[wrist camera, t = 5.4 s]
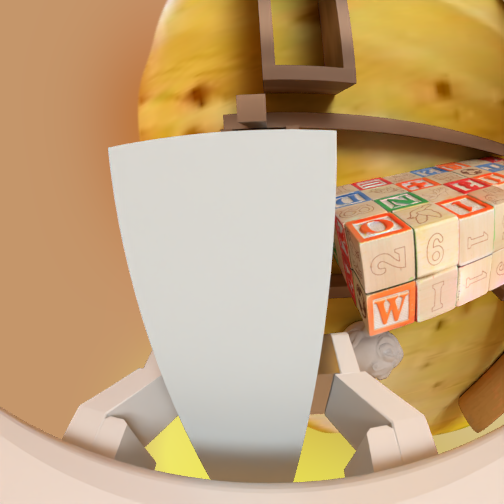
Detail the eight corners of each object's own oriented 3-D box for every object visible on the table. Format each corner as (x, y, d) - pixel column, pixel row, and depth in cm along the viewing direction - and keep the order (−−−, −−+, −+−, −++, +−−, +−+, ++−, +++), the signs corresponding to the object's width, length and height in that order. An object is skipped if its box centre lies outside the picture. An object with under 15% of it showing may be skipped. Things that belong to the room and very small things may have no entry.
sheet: (246, 133, 21) (108, 147, 3) (276, 132, 21) (336, 130, 2) (252, 270, 26) (224, 503, 8) (278, 270, 26) (286, 504, 7)
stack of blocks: (491, 154, 20) (573, 179, 9) (494, 207, 23) (567, 249, 11) (316, 191, 24) (358, 244, 13) (330, 254, 26) (369, 340, 15)
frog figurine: (382, 344, 30) (400, 386, 24) (327, 352, 31) (337, 397, 24) (390, 303, 28) (414, 344, 21) (330, 310, 28) (343, 356, 22)
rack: (227, 116, 21) (189, 100, 10) (501, 145, 20) (579, 166, 9) (238, 287, 28) (222, 380, 17) (480, 275, 26) (536, 330, 15)
